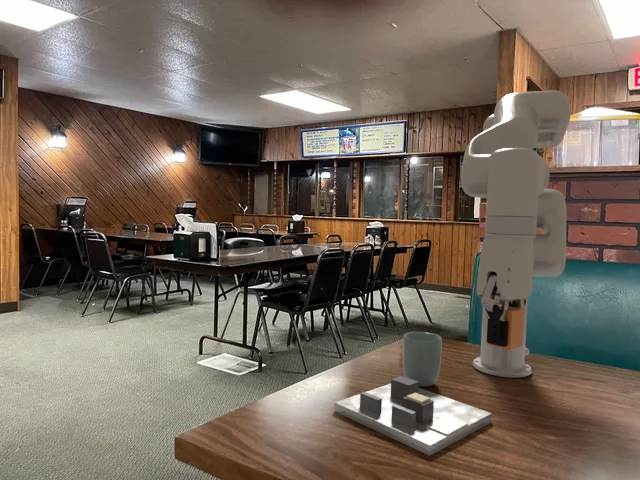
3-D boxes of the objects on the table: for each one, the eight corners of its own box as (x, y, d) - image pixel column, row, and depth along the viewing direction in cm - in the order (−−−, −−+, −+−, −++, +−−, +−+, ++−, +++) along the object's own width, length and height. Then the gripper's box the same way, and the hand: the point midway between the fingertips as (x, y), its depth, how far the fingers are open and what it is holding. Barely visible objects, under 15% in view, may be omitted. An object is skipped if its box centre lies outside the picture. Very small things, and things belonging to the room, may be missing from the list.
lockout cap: (498, 340, 80) (500, 304, 79) (522, 345, 77) (524, 308, 77) (486, 344, 77) (488, 307, 77) (510, 350, 74) (512, 311, 74)
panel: (398, 388, 97) (399, 369, 97) (491, 422, 82) (492, 399, 82) (334, 411, 85) (335, 389, 84) (429, 455, 70) (430, 429, 70)
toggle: (400, 391, 91) (401, 375, 91) (418, 397, 88) (418, 381, 88) (390, 395, 89) (391, 379, 89) (408, 401, 86) (408, 385, 86)
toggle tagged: (413, 410, 82) (414, 391, 82) (433, 418, 79) (433, 398, 79) (402, 415, 80) (403, 395, 80) (422, 423, 77) (423, 402, 77)
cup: (440, 392, 96) (442, 342, 95) (401, 388, 97) (403, 339, 96) (438, 379, 103) (441, 333, 103) (402, 375, 105) (404, 330, 104)
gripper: (512, 227, 84) (506, 330, 85) (460, 227, 73) (454, 345, 74) (556, 229, 79) (550, 339, 80) (507, 229, 68) (501, 357, 69)
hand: (504, 341), depth 77 cm, fingers closed on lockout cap, 4 cm apart
